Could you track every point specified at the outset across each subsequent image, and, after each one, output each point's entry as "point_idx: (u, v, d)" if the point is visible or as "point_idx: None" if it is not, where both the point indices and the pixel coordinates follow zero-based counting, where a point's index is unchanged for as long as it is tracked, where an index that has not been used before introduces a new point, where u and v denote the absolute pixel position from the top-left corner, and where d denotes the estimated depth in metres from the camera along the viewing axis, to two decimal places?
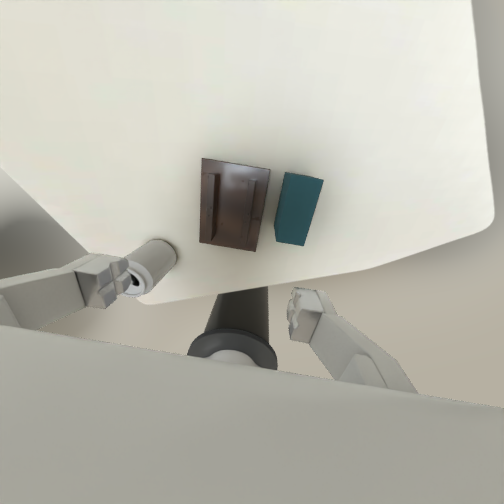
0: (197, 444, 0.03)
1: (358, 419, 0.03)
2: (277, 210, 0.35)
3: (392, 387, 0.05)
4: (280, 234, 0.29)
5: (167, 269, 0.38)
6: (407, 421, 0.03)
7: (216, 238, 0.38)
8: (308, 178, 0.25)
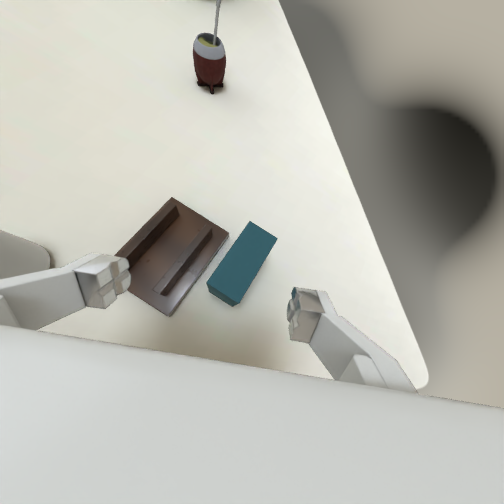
0: (197, 444, 0.03)
1: (358, 419, 0.03)
2: None
3: (392, 387, 0.05)
4: (215, 275, 0.22)
5: None
6: (407, 421, 0.03)
7: None
8: (264, 230, 0.25)
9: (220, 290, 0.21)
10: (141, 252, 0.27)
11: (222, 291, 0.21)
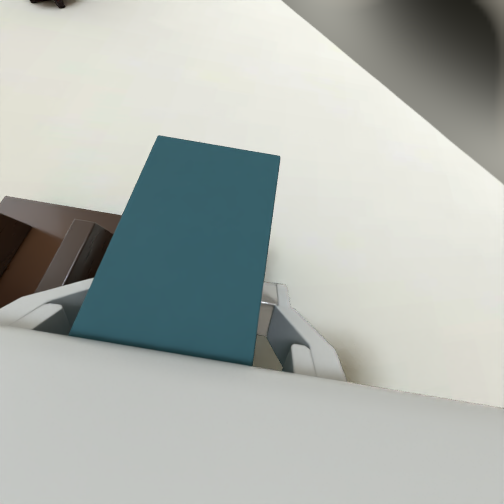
0: (197, 444, 0.03)
1: (358, 419, 0.03)
2: None
3: (322, 375, 0.05)
4: None
5: None
6: (407, 421, 0.03)
7: None
8: (222, 148, 0.07)
9: None
10: None
11: None
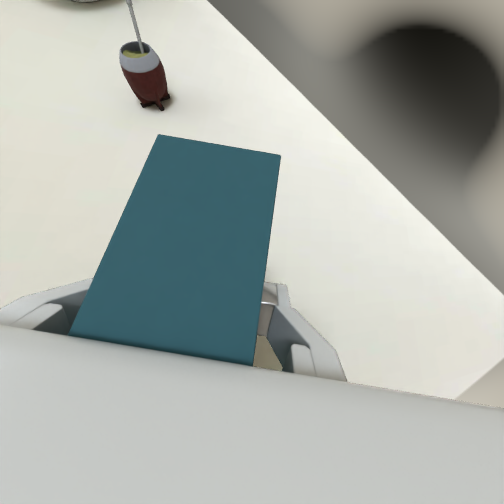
0: (197, 444, 0.03)
1: (358, 419, 0.03)
2: None
3: (322, 375, 0.05)
4: None
5: None
6: (407, 421, 0.03)
7: None
8: (222, 147, 0.07)
9: None
10: None
11: None
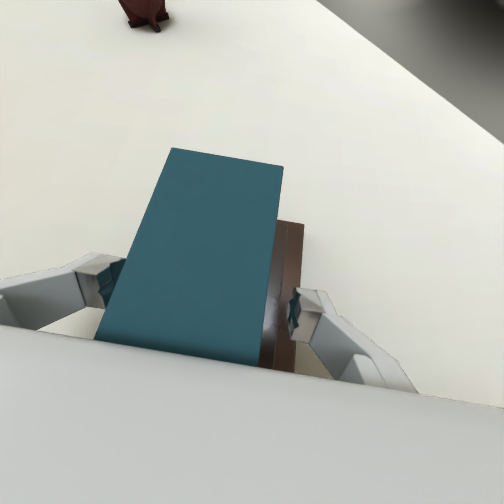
0: (197, 444, 0.03)
1: (358, 419, 0.03)
2: None
3: (392, 387, 0.05)
4: None
5: None
6: (407, 421, 0.03)
7: None
8: (230, 159, 0.07)
9: None
10: None
11: None
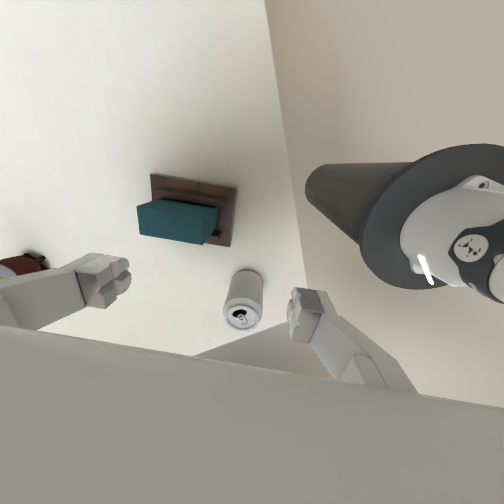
0: (197, 444, 0.03)
1: (358, 419, 0.03)
2: None
3: (392, 387, 0.05)
4: (193, 241, 0.29)
5: (251, 281, 0.38)
6: (407, 421, 0.03)
7: (223, 230, 0.37)
8: (138, 219, 0.28)
9: (201, 234, 0.28)
10: None
11: (201, 232, 0.28)
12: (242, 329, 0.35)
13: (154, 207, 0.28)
